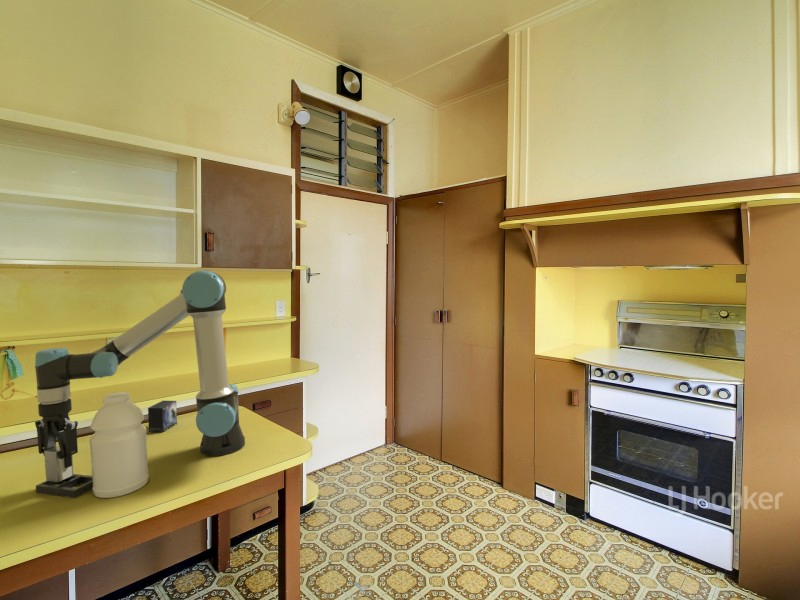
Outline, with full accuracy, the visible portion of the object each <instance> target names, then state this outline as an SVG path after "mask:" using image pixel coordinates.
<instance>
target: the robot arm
mask: <svg viewBox="0 0 800 600" xmlns="http://www.w3.org/2000/svg"><path fill="white" fill-rule="evenodd" d="M181 288H182V289H181V290H180V291H179V295H178V296H176V297H174V298H173V299H172V300H170V301H169V302H168V303H165V304H164V305H163V306H161V307H160V308H158V309H157V310H156V311H154V312H152V313H151V314H150V315H148V316H147V317H145V318H144V319H142V320H140V321H139V322H138V323H137V324H135V325H133V326H132V327H130V328H128V329H127V330H126V331H124V333H122V334H120V335H118V336H117V337H116V338H114V339H112V341H110V342H108V343H107V344H105V345H104V346H102V347H101V348H99V349H97V350H95V351H92V352H88V353H79V354H77V353H75V354H73V353H72V354H70V352H69V350H68V348H66V347H58V348H57V347H55V348H54V347H53V348H47V349H42V350H39V351H37V352H36V353H35V358H34V359H35V363H34V364H35V365H34V368H35V377H36V397H37V398H36V399H37V403H38V404H37V407H38V409H37V410H38V416H39V417H41V418H42V419H40V420H37V421H35V422H34V425H35V427H36V433H37V434H36V435H37V446H38V447H37V448H38V449H37V450H38V454H43V456H44V451H46V450H48V449H51V448H53V447H56V445H57V443H58V446H59V447H60V451H61V455H62V457H59V458H60V473H61V480H64V479H66V478H68V477H70V476H72V460H73V455H76V454H78V453H79V450H78V431H77V429H78V424H79V423H78V421H77V420H76V421H71V418H70V415H69V413H70V412H71V411H72V410H73V409H72V408H73V407H72V399H71V398H70V397H72V396H71V395H72V394H71V380H81V379H93V378H94V379H96V378H100V379H102V378H106V377H111V376H114V375H116V373H117V370H118V366H120V365H121V364H122V363H123V362H125V361H126V360H128V359H129V358H130V357H132V355H134V354H136V353H137V352H139V351H140V350H142V349H143V348H144V347H146V346H147V345H149V344H150V343H152V342H153V341H154V340H156V339H157V338H159V337H161V336H162V335H163V334H164V333H166V332H168V331H169V330H171V328H173V327H175V326H176V325H177V324H179V323H180V322H182V321H183V320H185V319H186V318H188V317H191V318H192V321H193V331H194V342H195V348H196V349H195V351H196V359H197V369H198V381H199V387H200V388H199V392H198V393H197V394H196V395H195V399H196V409H197V411H196V412H197V413H196V416H195V423H196V424H195V425H196V427H197V429H198V431H199V432H200V433H202V438H201V441H200V445H199V447H200V448H199V451H200V454H202V455H204V456H210V457H215V456H224V455H229V454H232V453H234V452H237V451H240V450H242V449H243V447H245V445H246V440H245V439H246V438H245V435H244V433H243V431H242V428H241V425H240V417H239V415H240V412H239V389H238V386H237V385H236V384H233V383H232V384H229V376H228V366H227V355H226V346H225V336H224V325H223V317H222V316H223V314H225V312H226V311H227V306H226V295H225V294H226V291H227V285H226V283H225V280H224V278H223V277H222V276H220V275H219V274H218V273H216V272H213V271H211V270H203V269H202V270H197V271H194V272H192V273H191V274H189V275H188V276H187V277H186V278H185V280H184V281H183V283H182V287H181Z"/></svg>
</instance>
